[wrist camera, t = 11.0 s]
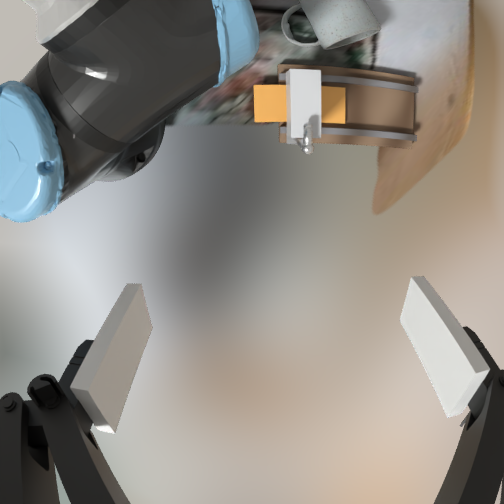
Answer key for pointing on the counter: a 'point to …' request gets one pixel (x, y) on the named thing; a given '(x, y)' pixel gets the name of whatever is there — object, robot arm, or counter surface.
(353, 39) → the ceramic mug
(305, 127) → the keeper hook
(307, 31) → the counter surface
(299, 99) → the white block on base
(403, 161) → the counter surface
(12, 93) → the robot arm
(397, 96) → the brown piece
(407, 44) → the counter surface
